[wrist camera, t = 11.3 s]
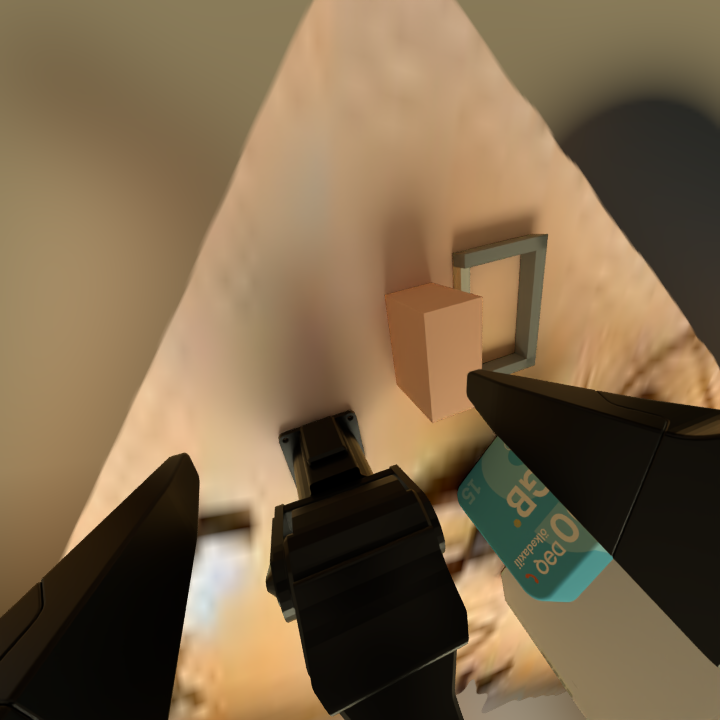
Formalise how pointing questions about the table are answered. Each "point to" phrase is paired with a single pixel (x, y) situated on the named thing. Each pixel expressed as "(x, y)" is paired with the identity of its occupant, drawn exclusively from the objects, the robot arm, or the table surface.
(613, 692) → the game console
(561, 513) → the data package
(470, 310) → the tall beige box
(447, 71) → the table surface
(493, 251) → the grey rectangular frame
